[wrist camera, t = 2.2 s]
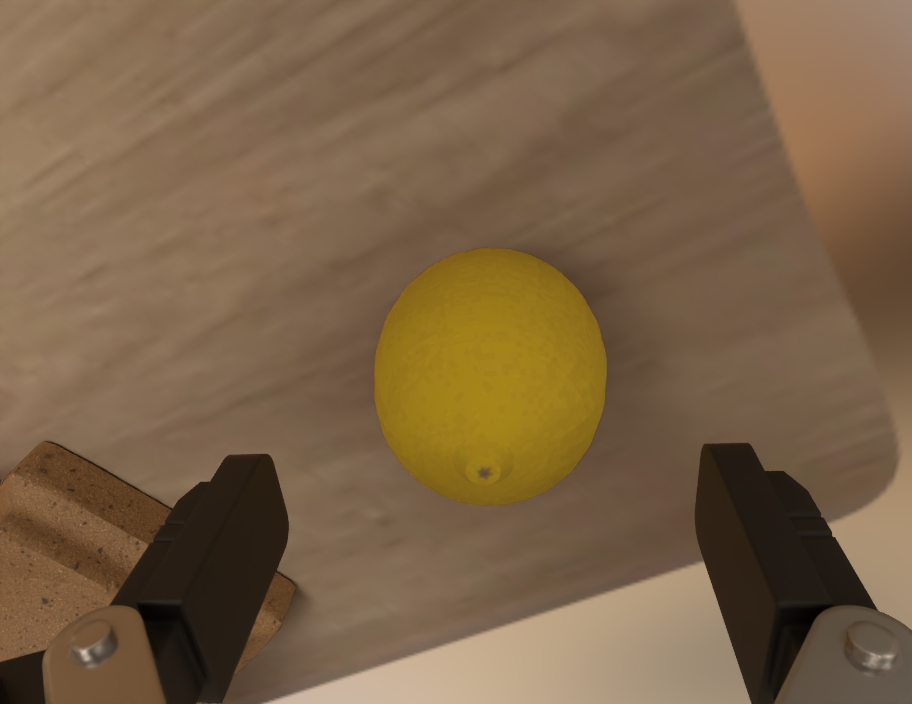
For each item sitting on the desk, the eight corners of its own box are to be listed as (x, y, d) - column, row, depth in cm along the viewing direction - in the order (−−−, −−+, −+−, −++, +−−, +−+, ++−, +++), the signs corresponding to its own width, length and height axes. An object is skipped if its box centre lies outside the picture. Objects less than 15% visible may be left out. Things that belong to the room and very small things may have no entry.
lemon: (509, 410, 22) (507, 614, 15) (366, 314, 20) (287, 487, 13) (629, 285, 19) (696, 458, 12) (475, 167, 18) (451, 285, 11)
